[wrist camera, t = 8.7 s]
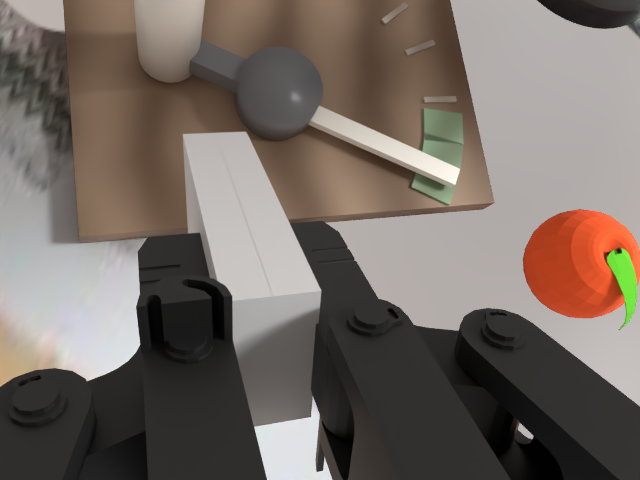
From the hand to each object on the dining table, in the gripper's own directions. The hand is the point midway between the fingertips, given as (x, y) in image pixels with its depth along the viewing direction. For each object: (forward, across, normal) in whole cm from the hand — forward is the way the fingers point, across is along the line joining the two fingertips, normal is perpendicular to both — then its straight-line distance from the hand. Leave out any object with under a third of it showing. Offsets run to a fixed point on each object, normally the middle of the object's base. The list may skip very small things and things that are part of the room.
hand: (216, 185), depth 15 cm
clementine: (+15, +24, -16) cm, 33 cm away
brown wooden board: (+25, +8, -6) cm, 26 cm away
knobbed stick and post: (+22, +8, -6) cm, 24 cm away
